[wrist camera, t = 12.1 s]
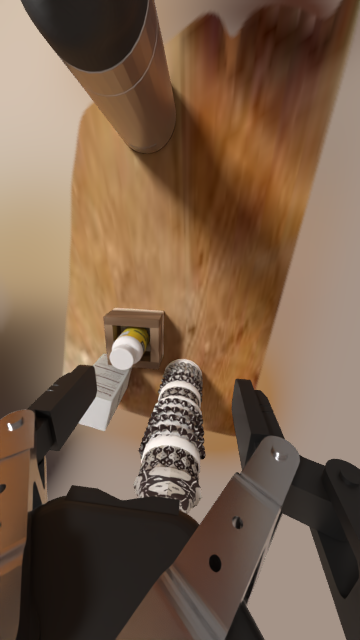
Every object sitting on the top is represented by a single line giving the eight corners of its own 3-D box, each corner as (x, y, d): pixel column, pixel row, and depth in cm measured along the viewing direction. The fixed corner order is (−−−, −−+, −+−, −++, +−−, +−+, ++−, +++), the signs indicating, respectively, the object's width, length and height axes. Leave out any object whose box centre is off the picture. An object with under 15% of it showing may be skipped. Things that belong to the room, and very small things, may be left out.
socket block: (115, 307, 43) (103, 316, 38) (163, 310, 42) (158, 320, 37) (118, 351, 47) (108, 365, 42) (163, 355, 46) (158, 369, 41)
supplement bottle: (156, 340, 43) (144, 367, 34) (134, 350, 45) (116, 378, 35) (142, 317, 42) (125, 339, 33) (120, 329, 43) (98, 352, 34)
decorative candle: (164, 353, 46) (125, 470, 22) (207, 360, 45) (212, 486, 22) (160, 388, 49) (122, 522, 26) (200, 395, 49) (199, 537, 25)
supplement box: (127, 388, 50) (105, 433, 38) (97, 378, 50) (65, 420, 38) (135, 362, 47) (112, 402, 36) (103, 351, 47) (70, 388, 35)
